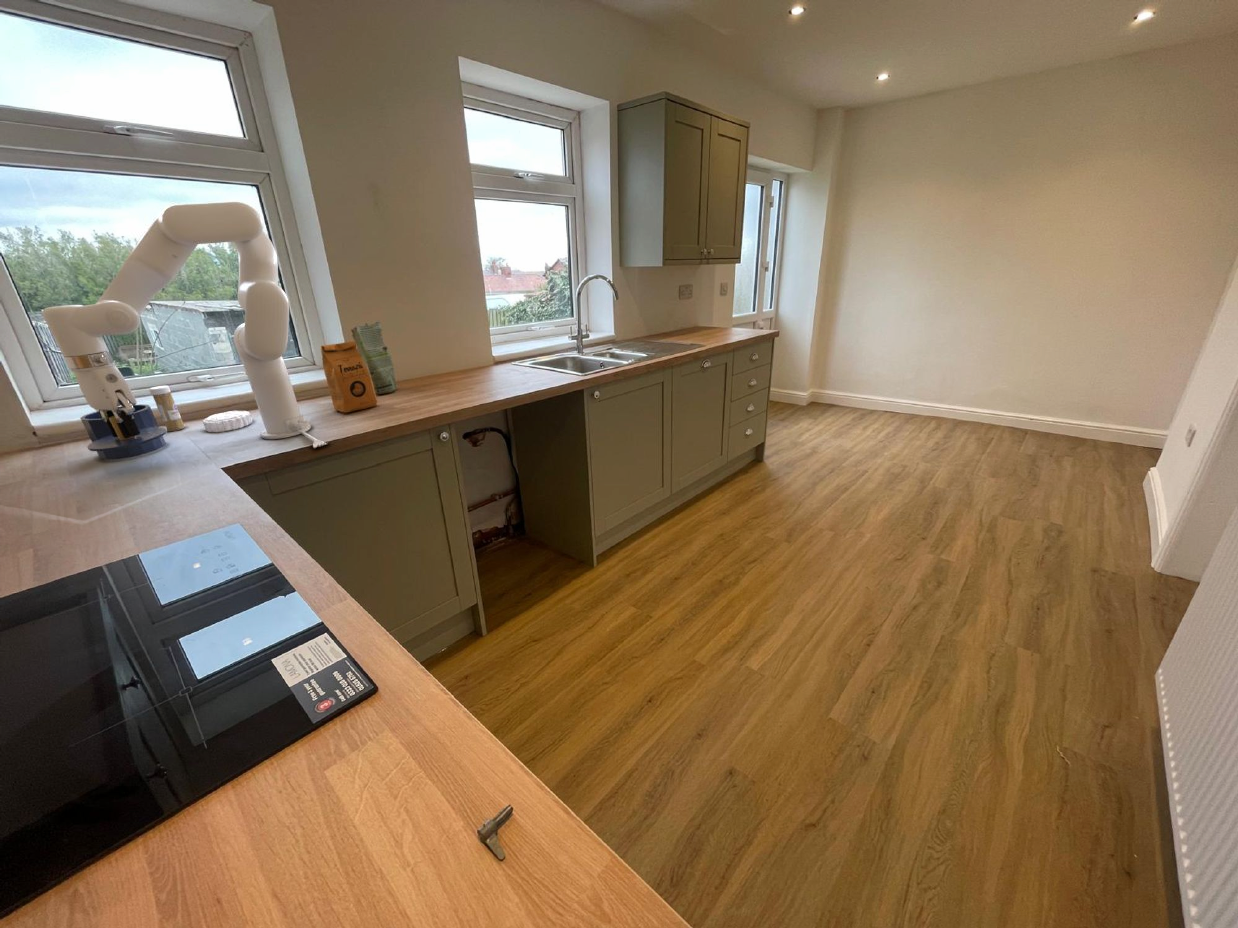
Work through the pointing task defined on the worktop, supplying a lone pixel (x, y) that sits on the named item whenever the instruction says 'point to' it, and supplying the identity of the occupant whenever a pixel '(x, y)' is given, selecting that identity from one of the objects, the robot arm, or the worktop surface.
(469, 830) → the worktop surface
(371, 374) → the pouch
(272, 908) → the worktop surface
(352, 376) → the coffee package
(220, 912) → the worktop surface
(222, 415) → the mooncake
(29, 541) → the worktop surface
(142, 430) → the tin lid
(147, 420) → the tin
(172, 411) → the sprinkles bottle
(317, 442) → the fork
